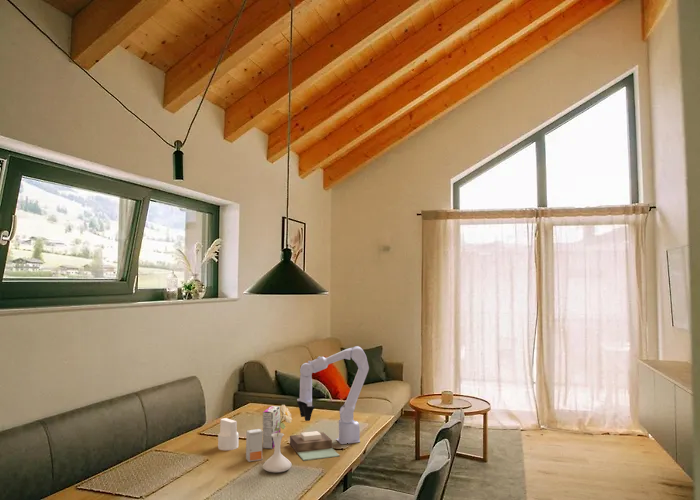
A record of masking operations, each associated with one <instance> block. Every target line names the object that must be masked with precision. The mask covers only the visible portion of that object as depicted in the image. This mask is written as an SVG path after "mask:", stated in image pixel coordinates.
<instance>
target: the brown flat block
mask: <svg viewBox="0 0 700 500" xmlns="http://www.w3.org/2000/svg"><path fill="white" fill-rule="evenodd" d="M319 433H320V434H321V439H318V440H309V441H304V440H303V439H302V438H301V434H296V435H293V434H292V435H290V436H289V446H290V447H292V449H293V450H294V451H295V452H296V453H297V452H304V451H313V450H321V449H330V448H333V439H332V438H330V437H329V436H328V435H327V434H326V433H324V431H323V432H319Z"/></svg>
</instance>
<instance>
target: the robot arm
mask: <svg viewBox="0 0 700 500" xmlns="http://www.w3.org/2000/svg"><path fill="white" fill-rule="evenodd" d="M344 359H345V360H349V361H350V360H351V359H352V361H354V363H355V364H356V366H357V368H358V369H357V372H356V374H355V377H354V380H353V381H352V385H351V387H350V390H349V392H348V395H347V398H346V400H345V401H344V404H343V405H342V406H341V407H340V409H339V420H338V438H335V440H336V441H337V442H338V443H339V444H341V445H347V443H348V444H354V443H360V442H361V438H360V437H361V435H360V434H361V433H360V431H361V430H360V423H359V422H358V421H357V420H355V419H354V411H355V409H356V404H357V401H358V400H359V396H360V393H361V391H362V388H363V385H364V384H365V381H366V378H367V377H368V376H367V375H368V373H369V370H370V366H369V362H368V358H367V355H366V353H365V351H364V350H363V348H362V347H361V346H359V345H356V346H353V347H349V348H346V349H343V350H341V351H339V352H337V353H334V354H332V355H330V356H328V357H327V356H326V357H325V356H320V355H319V356H317V358H315V359H313V360H307V362H304V363H303V364H301V366H300V369H299V373H300V377H299V398H297V399H296V400H297V401H296V403H297V406H298V409H299V413H300V415H299V416H300V417H302V418H304V421H306V422H310V421H311V418H312V414H313V411H314V409H315V407H316V406H315V405H313V379H312V377H313V376H312V375H313V373H314V374H316V373H318V372H321V371H323V370H325V369H327V368H328V366H329V365H331V364H333V363H336V362H339V361H341V360H344Z"/></svg>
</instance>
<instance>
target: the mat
mask: <svg viewBox="0 0 700 500" xmlns="http://www.w3.org/2000/svg"><path fill="white" fill-rule="evenodd" d="M296 454H297V455H298V456H299V457H300V458H301V460H302V461H305V462H306V461H313V460H320V459H327V458H329V459H330V458H335V457H340V456H341V455H340V454H339V453H338V452H337V451H336V450H335V449H334V448H333V447H332V448H330V449H321V450H313V451H304V452H296Z"/></svg>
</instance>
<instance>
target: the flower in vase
mask: <svg viewBox="0 0 700 500" xmlns="http://www.w3.org/2000/svg"><path fill="white" fill-rule="evenodd" d="M280 413H281V415H282V416H281V417H280V424H279V428H277V427H275V429H274V430H275V431H278V433H274V434H271V436H272V437H273V440H274V445H275V447H274V449H273V451H274V452H273V453H272V455H271V456H270V457H268V459H266V460H265V461H264V463H263V465H262V469H263V470H264V471H267V472H269V473H283V472H286V471H288V470H290V469H291V467H292V462H291V461H290V460H289V459H288V458H287V457H285V456H284V455H283V454H282V453H281V444H282V443H281V442H282V440H283V439H282V438H283V437H284V436H285V434H284V433H283V432H280V433H279V430H280V431H281V430H284V429H285V428H286V424H285V423H284V422H282V421H283V419H284V421H285V422H286V423H287V424H290V423H292V421H293V418H292V413H291V412H290V411H289V408H288V407H286V405H285V404H281V405H280Z"/></svg>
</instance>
